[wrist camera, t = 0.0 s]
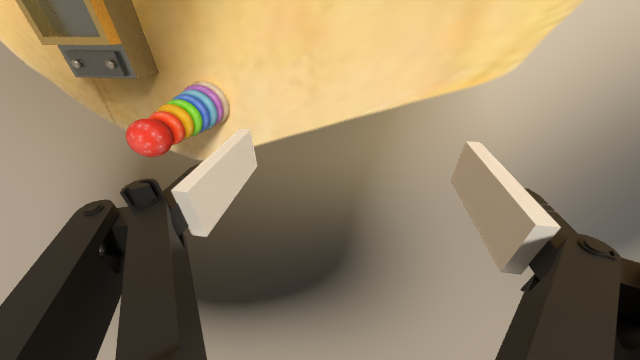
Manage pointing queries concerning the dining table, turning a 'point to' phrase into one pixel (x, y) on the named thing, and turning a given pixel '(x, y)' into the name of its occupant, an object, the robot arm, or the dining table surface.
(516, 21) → the dining table surface
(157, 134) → the stacking toy
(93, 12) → the gray gold-framed box
